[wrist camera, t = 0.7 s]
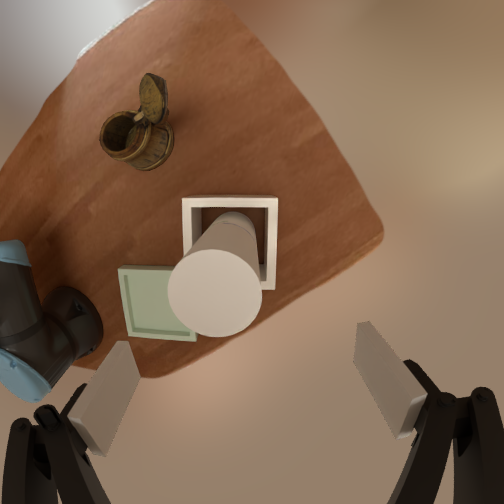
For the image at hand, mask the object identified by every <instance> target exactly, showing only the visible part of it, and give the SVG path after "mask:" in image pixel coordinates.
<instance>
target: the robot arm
mask: <svg viewBox="0 0 504 504" xmlns="http://www.w3.org/2000/svg"><path fill="white" fill-rule="evenodd" d="M102 337H103V326H102V322H101V319H100V316H99V314H98V312H97V310H96V309H95V307H94V306H93V304H92V303H91V302H90V301H89V299H88V298H87V297H86V296H84V295H83V294H82V293H81V292H79V291H77V290H75V289H73V288H70V287H59V288H56V289H55V290H53V291H52V292H50V293H49V294H48V295H47V296H46V298H45V299H44V302H43V303H42V305H41V304H40V301H39V297H38V294H37V290H36V287H35V283H34V279H33V275H32V271H31V264H30V263H29V260H28V256H27V252H26V248H25V245H24V244H23V243H22V242H21V241H19V240H8V241H2V242H0V381H1V383H2V384H3V385H4V386H5V387H6V388H7V389H8V390H9V391H11V392H12V393H13V394H15V395H16V396H17V397H19V398H21V399H22V400H24V401H27V402H30V403H37V402H39V401H41V400H42V399H43V398H44V397H45V396H46V395H47V394H48V393H50V392H51V389H52V388H53V387H54V385H55V384H56V383H57V382H58V380H59V379H60V378H61V377H62V375H63V374H64V373H65V372H66V370H67V369H68V368H69V367H70V365H71V364H72V363H73V362H74V361H75V360H77V359H80V358H82V357H84V356H86V355H89V354H91V353H92V352H93V351H94V350H95V349H96V348H97V347H98V346H99V344H100V343H101V341H102ZM353 362H354V364H355V366H356V368H357V369H358V371H359V373H360V375H361V376H362V378H363V380H364V382H365V383H366V385H367V387H368V389H369V391H370V392H371V394H372V396H373V398H374V400H375V401H376V403H377V405H378V407H379V409H380V411H381V413H382V414H383V416H384V418H385V420H386V422H387V424H388V426H389V427H390V429H391V431H392V433H393V435H394V437H395V439H396V440H398V439H401V438H403V437H406V436H409V435H411V433H412V430H413V428H415V429H416V431H417V435H416V437H415V439H414V441H413V443H412V445H411V446H412V448H411V451H410V453H409V456H408V459H407V461H406V464H405V466H404V468H403V471H402V473H401V476H400V478H399V480H398V482H397V484H396V487H395V489H394V491H393V493H392V495H391V497H390V499H389V501H388V503H387V504H433V503H434V501H435V498H436V495H437V492H438V489H439V486H440V483H441V479H442V476H443V473H444V470H445V466H446V462H447V458H448V454H449V450H450V446H451V441H452V439H453V451H454V500H453V504H504V428H503V424H502V420H501V416H500V413H499V409H498V406H497V402H496V399H495V395H494V394H493V392H492V391H491V390H490V389H488V388H486V387H478V388H476V389H474V390H473V392H472V393H471V396H469V397H463V398H456V397H455V396H454V395H452V394H450V393H447V392H441V391H440V390H439V389H438V387H437V386H436V385H435V384H434V383H433V381H432V380H431V379H430V378H429V377H428V376H427V374H426V373H425V372H424V371H423V370H422V368H421V367H420V366H419V365H418V364H417V363H415V362H413V361H412V360H410V359H409V360H405V361H401V359H400V358H399V357H398V355H397V354H396V353H395V352H394V350H393V349H392V348H391V347H390V345H389V344H388V343H387V342H386V341H385V339H384V338H383V337H382V336H381V335H380V333H379V332H378V331H377V330H376V329H375V327H374V326H373V325H372V324H371V322H369V321H368V322H362V323H357V333H356V343H355V352H354V361H353ZM140 378H141V377H140V374H139V371H138V368H137V366H136V363H135V360H134V357H133V354H132V351H131V348H130V345H129V341H117V342H116V343H115V345H114V346H113V348H112V349H111V351H110V352H109V353H108V355H107V356H106V358H105V359H104V361H103V362H102V364H101V365H100V366H99V368H98V369H97V371H96V372H95V374H94V375H93V377H92V378H91V380H90V381H89V383H88V384H86V383H84V384H82V385H81V386H80V387H78V388H77V389H76V391H75V392H74V394H73V396H72V397H71V398H70V401H68V403H67V404H66V406H65V407H64V409H63V410H62V412H61V413H60V415H59V413H58V411H57V410H56V408H55V407H54V406H53V405H49V404H47V405H43V406H40V407H39V408H38V409H36V411H35V412H34V418H35V420H36V421H37V423H38V424H39V425H32V424H31V422H30V421H29V419H27V418H19V419H17V420H15V421H14V422H13V423H12V425H11V429H10V434H9V440H8V445H7V451H6V458H5V466H4V474H3V486H2V504H58V496H57V490H58V493H59V495H60V498H61V501H62V504H111V503H110V501H109V499H108V497H107V495H106V493H105V491H104V490H103V488H102V486H101V484H100V481H99V479H98V478H97V475H96V473H95V471H94V469H93V467H92V465H91V462H90V460H89V457H88V455H87V454H86V453H85V451H86V449H87V447H88V448H89V449H90V451H91V452H92V453H93V454H95V455H99V456H103V457H106V456H107V453H108V451H109V448H110V446H111V444H112V441H113V439H114V437H115V434H116V432H117V429H118V427H119V425H120V422H121V420H122V418H123V416H124V413H125V411H126V409H127V407H128V404H129V402H130V400H131V398H132V395H133V393H134V391H135V389H136V387H137V385H138V382H139V380H140Z"/></svg>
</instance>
